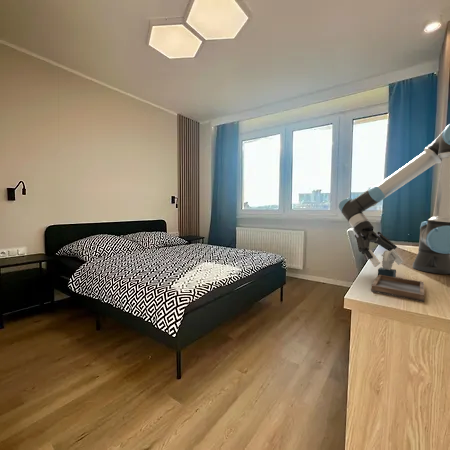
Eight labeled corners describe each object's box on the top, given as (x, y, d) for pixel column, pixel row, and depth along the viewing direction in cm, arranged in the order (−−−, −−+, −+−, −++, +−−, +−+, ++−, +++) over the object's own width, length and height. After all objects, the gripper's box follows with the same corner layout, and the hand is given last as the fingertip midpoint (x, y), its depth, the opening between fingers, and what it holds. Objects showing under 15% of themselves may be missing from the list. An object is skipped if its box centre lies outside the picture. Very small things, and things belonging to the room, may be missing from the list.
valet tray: (378, 279, 98) (378, 274, 98) (423, 287, 89) (423, 281, 89) (371, 291, 84) (371, 285, 83) (423, 302, 75) (424, 295, 75)
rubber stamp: (396, 276, 104) (398, 250, 103) (391, 279, 98) (394, 252, 97) (381, 273, 108) (383, 248, 107) (376, 276, 102) (378, 250, 101)
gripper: (375, 230, 122) (403, 266, 109) (335, 230, 114) (360, 270, 101) (386, 220, 116) (417, 257, 103) (345, 220, 108) (373, 260, 95)
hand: (389, 264), depth 102 cm, fingers open, 13 cm apart
